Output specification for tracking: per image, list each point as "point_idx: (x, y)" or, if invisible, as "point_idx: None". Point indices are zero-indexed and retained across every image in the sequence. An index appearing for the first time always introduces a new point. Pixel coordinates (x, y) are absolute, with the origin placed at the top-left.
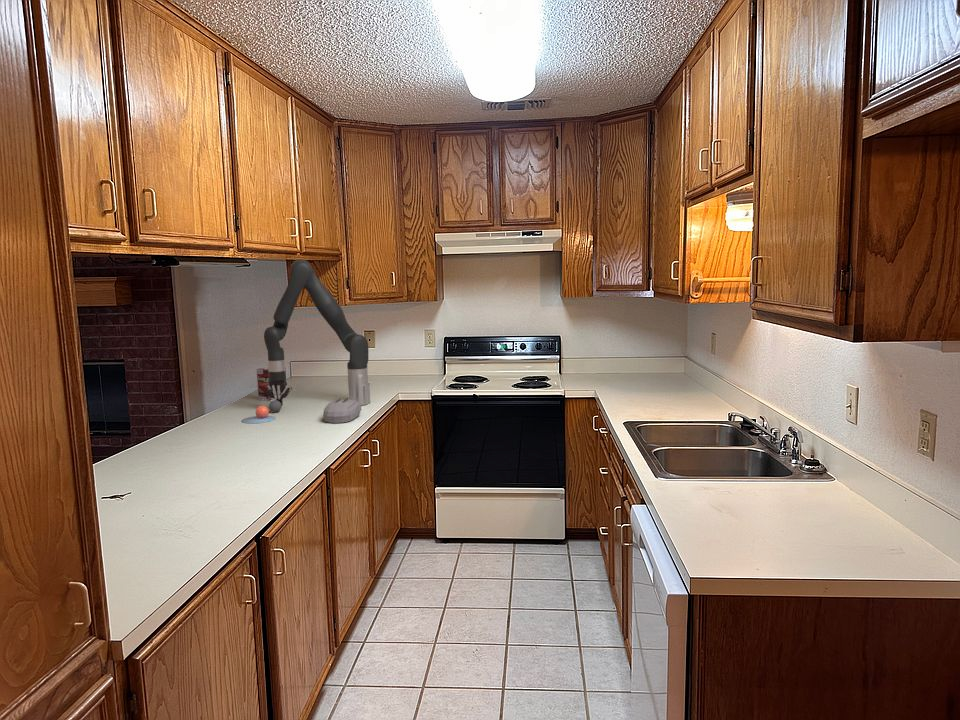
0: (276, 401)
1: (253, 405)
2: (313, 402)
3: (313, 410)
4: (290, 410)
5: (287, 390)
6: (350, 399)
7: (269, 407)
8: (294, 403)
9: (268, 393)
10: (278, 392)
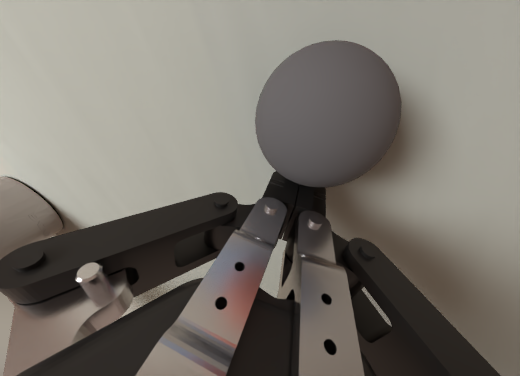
0: (289, 110)
1: (475, 333)
2: (195, 276)
3: (98, 123)
4: (227, 154)
5: (76, 246)
6: (4, 204)
7: (389, 68)
8: (262, 289)
9: (442, 324)
10: (247, 264)
